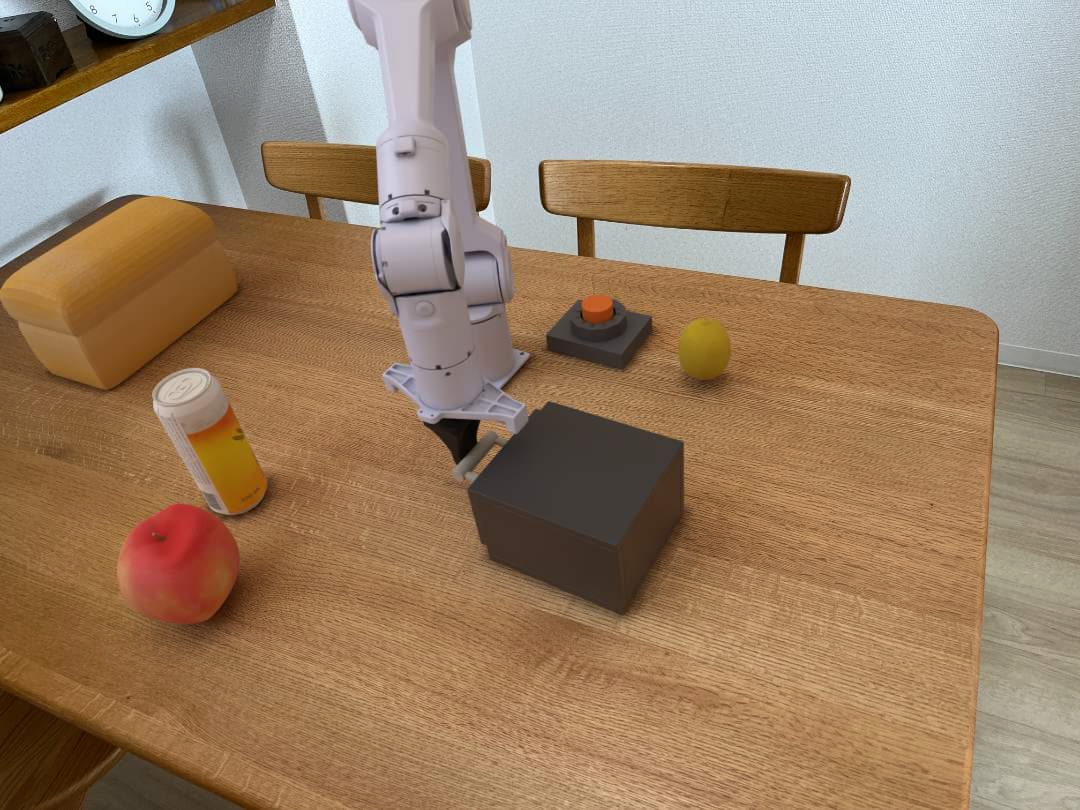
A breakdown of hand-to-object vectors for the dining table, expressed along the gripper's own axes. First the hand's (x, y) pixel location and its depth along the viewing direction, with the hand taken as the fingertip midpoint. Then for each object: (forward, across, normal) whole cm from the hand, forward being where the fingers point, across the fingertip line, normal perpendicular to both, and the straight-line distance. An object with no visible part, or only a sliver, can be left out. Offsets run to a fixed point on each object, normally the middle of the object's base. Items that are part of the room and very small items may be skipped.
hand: (468, 462), depth 77 cm
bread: (+5, -59, +6) cm, 60 cm away
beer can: (+5, -22, -11) cm, 25 cm away
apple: (+5, -15, -22) cm, 27 cm away
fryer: (+4, +13, 0) cm, 13 cm away
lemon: (+4, +14, +25) cm, 29 cm away
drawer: (+3, +9, 0) cm, 9 cm away
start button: (+1, -1, +27) cm, 27 cm away
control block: (+4, 0, +27) cm, 27 cm away
